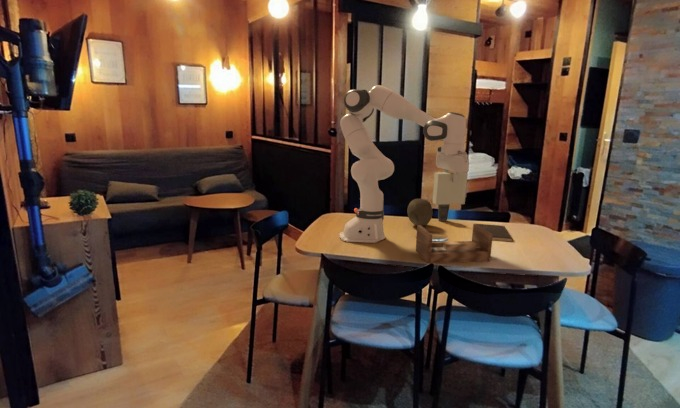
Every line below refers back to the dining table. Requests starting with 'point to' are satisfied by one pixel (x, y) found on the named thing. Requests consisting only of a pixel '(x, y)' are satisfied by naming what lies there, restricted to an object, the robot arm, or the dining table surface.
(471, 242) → the offcut stack
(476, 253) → the walnut rack
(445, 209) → the beverage cup
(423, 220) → the cantaloupe
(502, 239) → the hardcover book
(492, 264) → the dining table surface
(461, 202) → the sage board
